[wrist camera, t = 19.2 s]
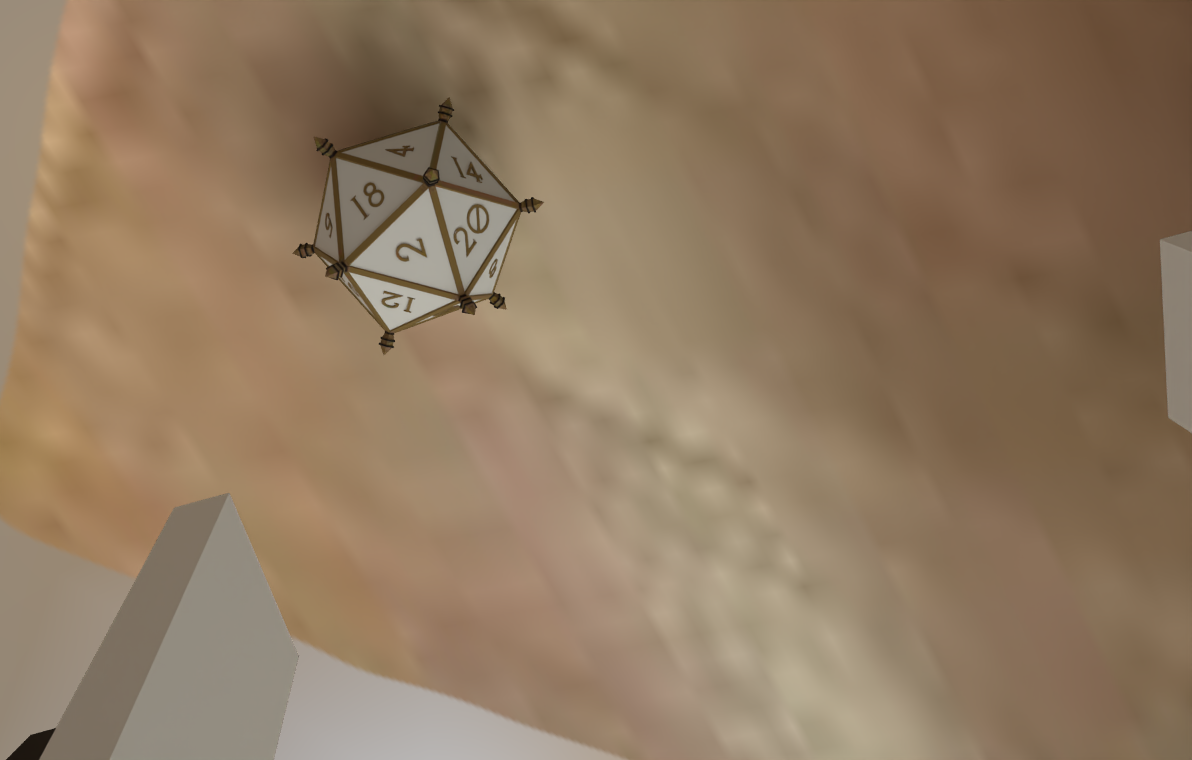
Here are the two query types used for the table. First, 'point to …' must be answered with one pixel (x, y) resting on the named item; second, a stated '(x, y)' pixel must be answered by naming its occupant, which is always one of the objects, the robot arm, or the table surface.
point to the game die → (414, 225)
